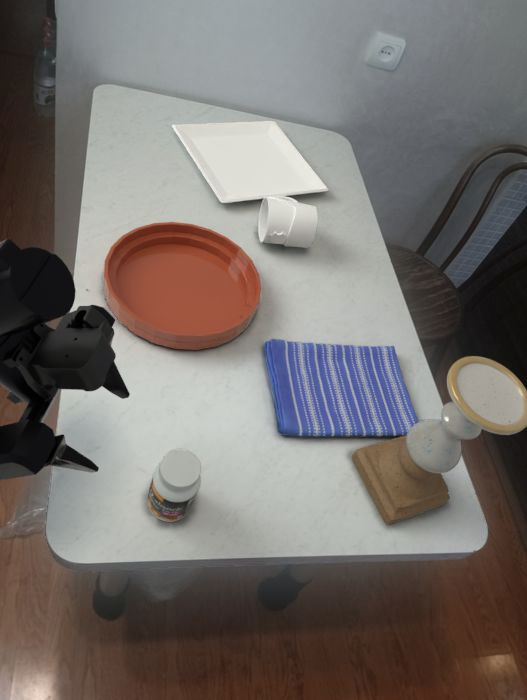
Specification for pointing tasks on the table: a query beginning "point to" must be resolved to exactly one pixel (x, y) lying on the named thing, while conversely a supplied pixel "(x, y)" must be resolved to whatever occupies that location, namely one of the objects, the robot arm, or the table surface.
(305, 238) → the mug
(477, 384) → the candle holder
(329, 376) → the dish towel
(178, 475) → the pill bottle
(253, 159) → the plate
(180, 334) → the bowl
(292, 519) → the table surface
